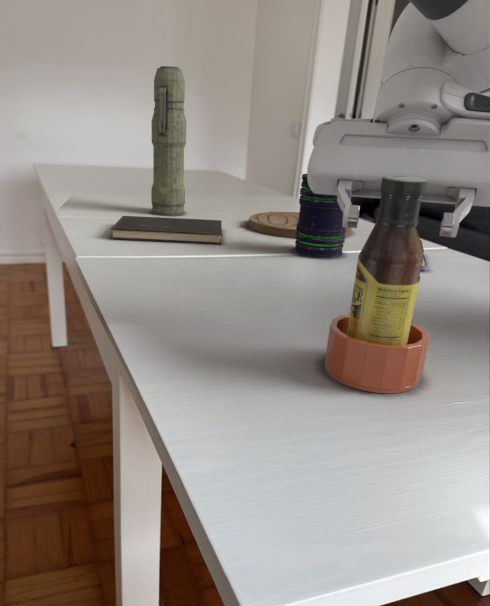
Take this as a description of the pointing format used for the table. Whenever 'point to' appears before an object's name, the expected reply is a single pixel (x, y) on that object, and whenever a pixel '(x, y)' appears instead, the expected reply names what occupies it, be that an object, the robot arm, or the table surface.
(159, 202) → the thermos
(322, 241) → the storage jar
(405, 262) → the sauce bottle
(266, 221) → the trivet
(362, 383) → the faceted bowl
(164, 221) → the hardcover book
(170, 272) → the table surface
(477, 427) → the table surface
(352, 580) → the table surface
